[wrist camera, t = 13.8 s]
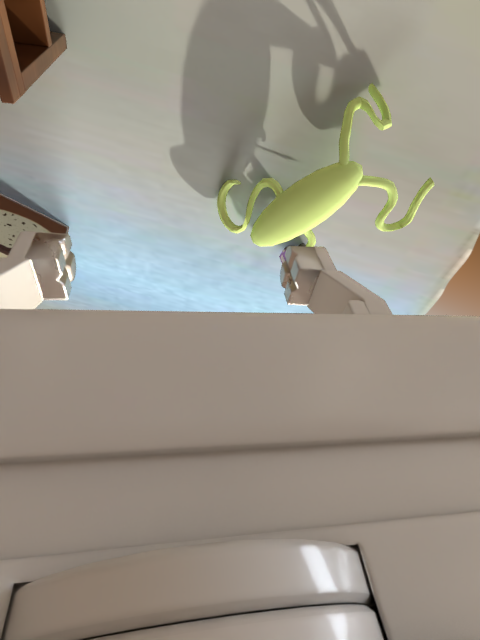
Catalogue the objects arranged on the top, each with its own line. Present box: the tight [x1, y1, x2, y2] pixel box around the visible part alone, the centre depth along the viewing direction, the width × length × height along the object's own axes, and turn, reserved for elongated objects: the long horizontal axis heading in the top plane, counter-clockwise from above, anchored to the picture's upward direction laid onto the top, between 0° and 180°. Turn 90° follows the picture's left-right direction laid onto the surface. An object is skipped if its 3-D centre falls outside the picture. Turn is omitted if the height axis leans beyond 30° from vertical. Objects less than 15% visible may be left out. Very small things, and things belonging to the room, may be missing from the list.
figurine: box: [217, 84, 434, 263], centre depth 50 cm, size 18×27×6 cm
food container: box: [0, 193, 69, 258], centre depth 46 cm, size 12×6×10 cm, turn 51°
